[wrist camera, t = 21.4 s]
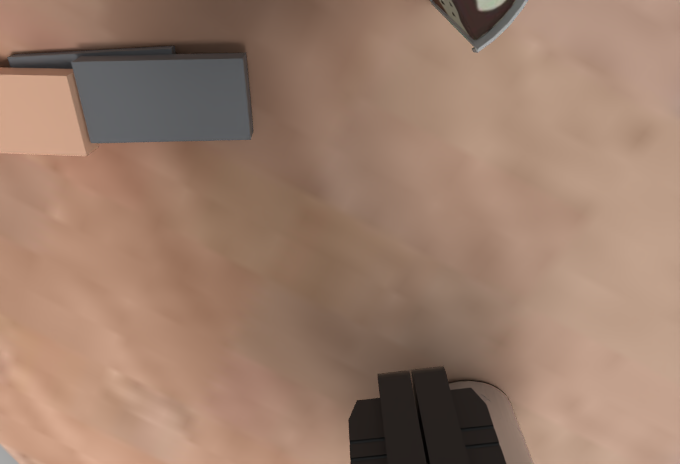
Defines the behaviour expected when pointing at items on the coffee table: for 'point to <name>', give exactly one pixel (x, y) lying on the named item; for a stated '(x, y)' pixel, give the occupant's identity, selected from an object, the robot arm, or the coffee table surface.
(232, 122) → the domino
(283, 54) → the coffee table surface
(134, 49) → the domino
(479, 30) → the food container
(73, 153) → the domino
